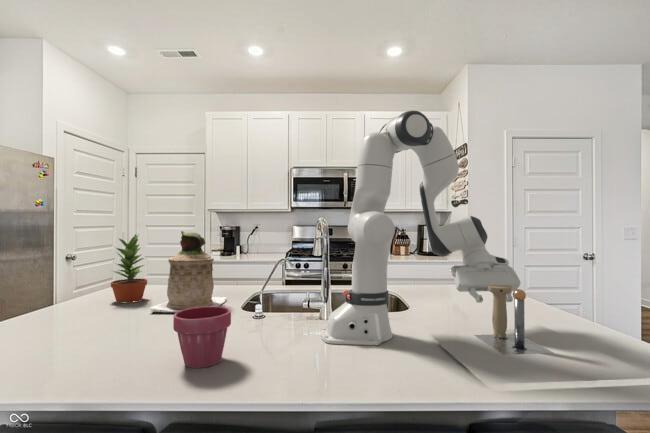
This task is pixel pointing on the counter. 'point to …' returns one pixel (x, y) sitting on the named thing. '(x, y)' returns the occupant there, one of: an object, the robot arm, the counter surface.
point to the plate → (512, 345)
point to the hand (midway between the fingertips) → (495, 301)
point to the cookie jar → (190, 278)
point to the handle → (499, 309)
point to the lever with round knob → (519, 318)
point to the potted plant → (129, 274)
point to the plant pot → (202, 334)
